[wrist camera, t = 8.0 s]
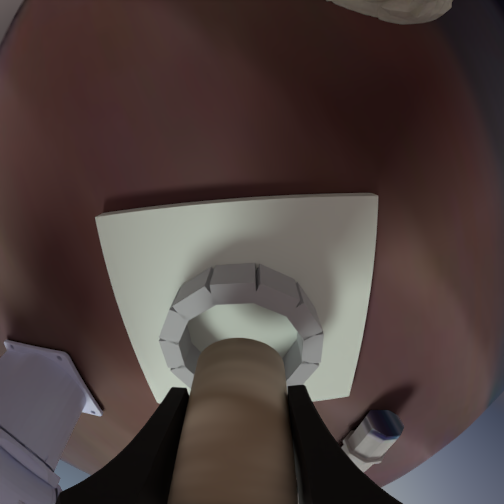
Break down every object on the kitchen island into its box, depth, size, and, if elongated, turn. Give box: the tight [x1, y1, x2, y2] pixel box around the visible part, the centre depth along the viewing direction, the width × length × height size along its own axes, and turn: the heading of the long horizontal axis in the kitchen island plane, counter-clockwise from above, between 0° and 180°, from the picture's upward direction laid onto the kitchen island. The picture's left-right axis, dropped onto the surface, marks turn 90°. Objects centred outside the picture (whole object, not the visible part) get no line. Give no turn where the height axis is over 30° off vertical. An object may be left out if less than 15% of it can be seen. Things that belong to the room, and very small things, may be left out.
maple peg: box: [167, 338, 298, 504], centre depth 9 cm, size 4×4×7 cm
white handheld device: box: [297, 410, 404, 504], centre depth 22 cm, size 5×7×25 cm
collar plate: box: [95, 193, 378, 403], centre depth 14 cm, size 14×14×3 cm
